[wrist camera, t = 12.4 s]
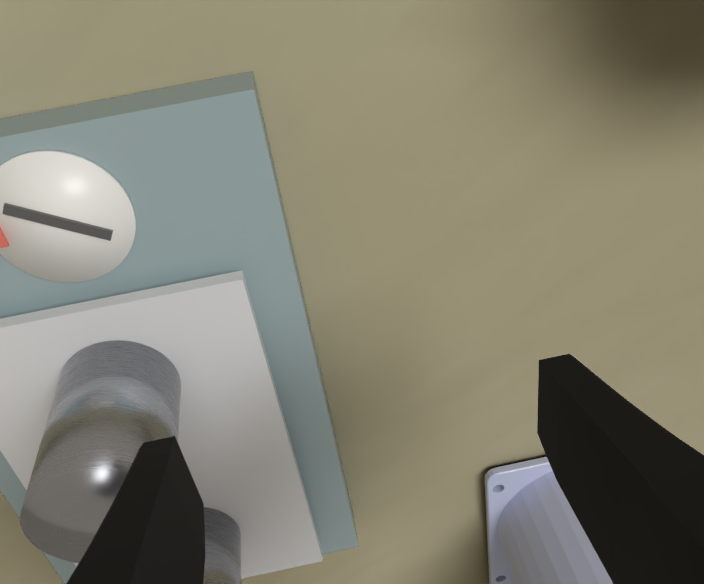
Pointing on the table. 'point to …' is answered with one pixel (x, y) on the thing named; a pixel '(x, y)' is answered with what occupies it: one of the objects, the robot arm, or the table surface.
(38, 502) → the cylinder
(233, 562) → the cylinder
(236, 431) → the scale
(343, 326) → the table surface
